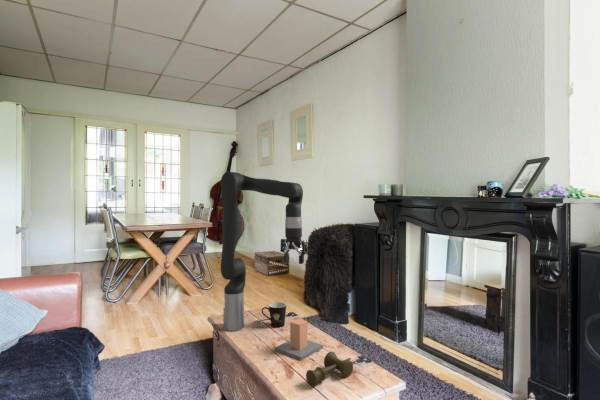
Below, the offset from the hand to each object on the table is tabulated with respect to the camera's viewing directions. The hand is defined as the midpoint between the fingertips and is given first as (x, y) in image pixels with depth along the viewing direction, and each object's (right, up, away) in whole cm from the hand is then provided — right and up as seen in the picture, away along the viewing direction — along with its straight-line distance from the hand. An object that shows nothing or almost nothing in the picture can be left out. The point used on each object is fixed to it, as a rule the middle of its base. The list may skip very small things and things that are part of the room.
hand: (293, 262), depth 152 cm
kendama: (+14, -33, -35) cm, 50 cm away
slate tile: (+2, -33, -14) cm, 36 cm away
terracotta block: (+2, -32, -14) cm, 35 cm away
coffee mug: (-9, -34, +14) cm, 38 cm away
